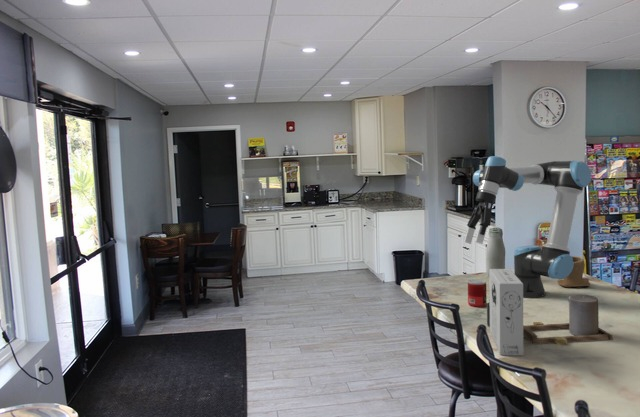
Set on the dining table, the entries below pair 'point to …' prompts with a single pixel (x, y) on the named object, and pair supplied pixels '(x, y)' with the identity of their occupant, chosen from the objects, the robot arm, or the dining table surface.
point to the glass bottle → (495, 250)
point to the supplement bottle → (488, 313)
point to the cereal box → (506, 311)
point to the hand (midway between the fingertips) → (472, 243)
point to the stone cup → (575, 275)
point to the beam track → (560, 340)
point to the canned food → (477, 293)
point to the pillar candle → (583, 315)
